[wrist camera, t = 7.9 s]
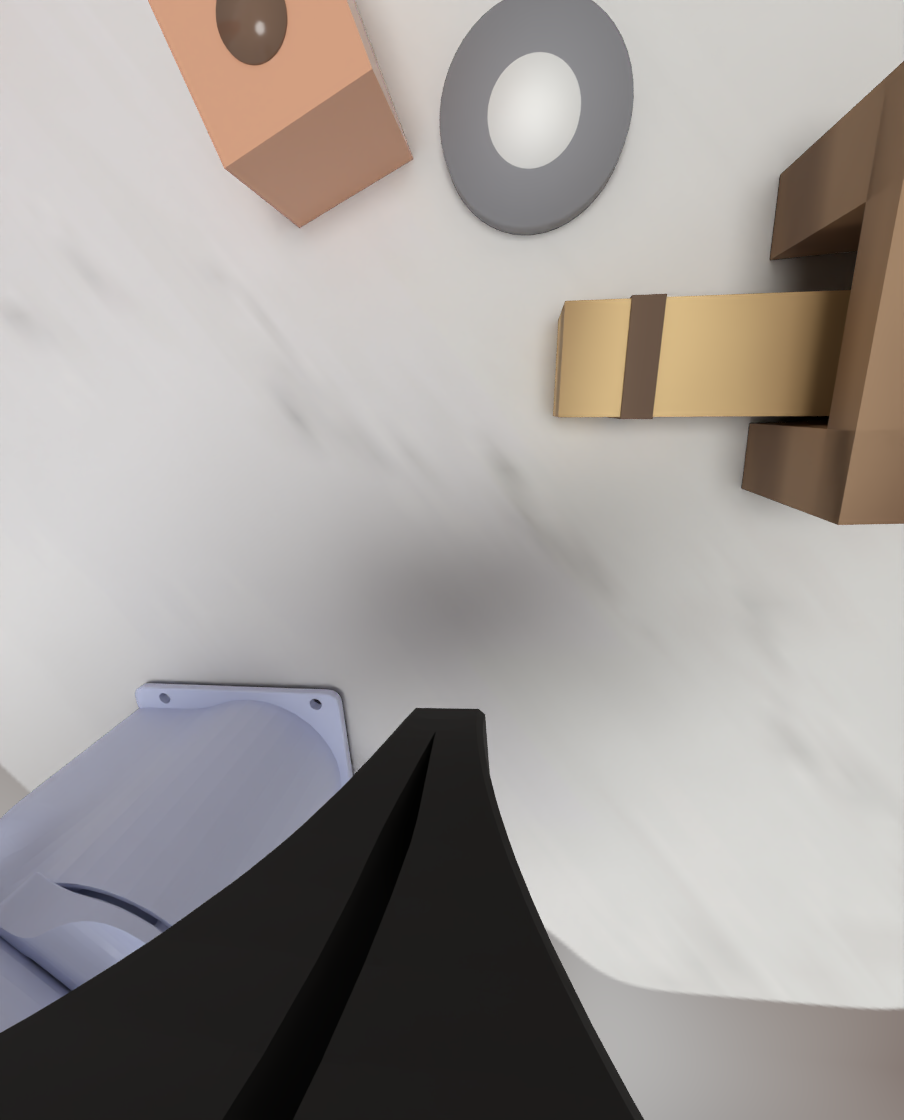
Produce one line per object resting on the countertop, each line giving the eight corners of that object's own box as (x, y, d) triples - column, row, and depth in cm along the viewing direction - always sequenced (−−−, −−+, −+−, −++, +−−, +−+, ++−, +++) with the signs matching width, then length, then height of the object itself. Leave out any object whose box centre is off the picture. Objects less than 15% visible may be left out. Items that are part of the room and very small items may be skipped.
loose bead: (300, 228, 15) (222, 166, 11) (238, 85, 14) (130, -36, 10) (414, 160, 14) (371, 66, 10) (355, 1, 13) (284, -168, 9)
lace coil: (450, 244, 14) (444, 234, 13) (438, 31, 13) (432, 5, 12) (622, 223, 14) (629, 211, 13) (632, -6, 12) (640, -37, 11)
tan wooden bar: (552, 416, 15) (558, 419, 13) (558, 318, 15) (565, 297, 12) (1056, 414, 13) (1192, 416, 11) (1098, 299, 13) (1258, 270, 10)
